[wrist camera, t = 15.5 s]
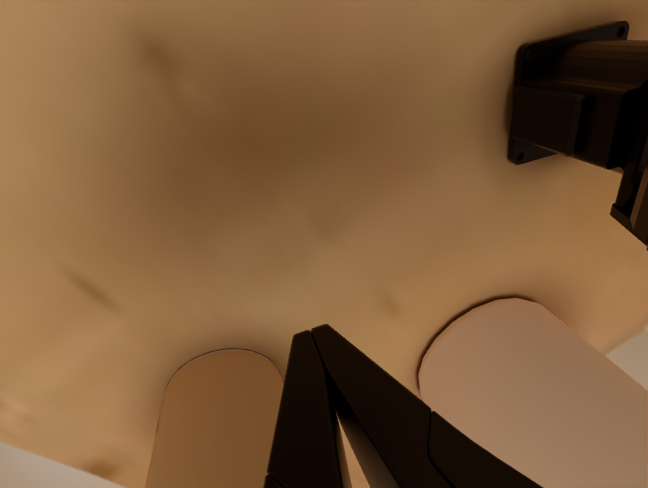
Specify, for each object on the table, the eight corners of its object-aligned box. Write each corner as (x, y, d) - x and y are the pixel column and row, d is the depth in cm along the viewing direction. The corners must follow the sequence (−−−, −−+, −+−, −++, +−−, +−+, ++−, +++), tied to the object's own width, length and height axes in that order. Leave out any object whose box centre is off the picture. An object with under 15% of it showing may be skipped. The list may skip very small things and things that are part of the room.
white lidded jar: (563, 341, 34) (913, 642, 17) (454, 423, 36) (677, 770, 19) (516, 264, 27) (1011, 630, 11) (385, 368, 29) (634, 829, 12)
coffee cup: (118, 383, 23) (49, 661, 13) (256, 314, 23) (296, 531, 13) (199, 453, 28) (196, 691, 18) (312, 396, 28) (371, 597, 18)
